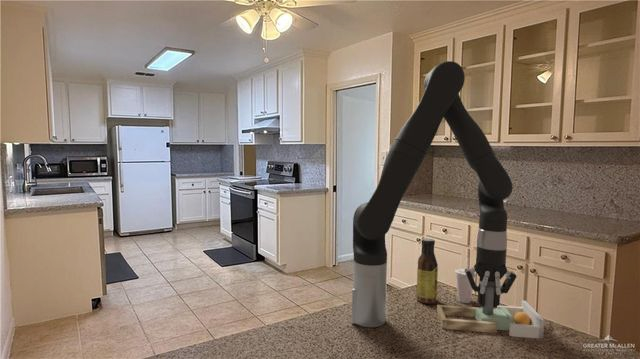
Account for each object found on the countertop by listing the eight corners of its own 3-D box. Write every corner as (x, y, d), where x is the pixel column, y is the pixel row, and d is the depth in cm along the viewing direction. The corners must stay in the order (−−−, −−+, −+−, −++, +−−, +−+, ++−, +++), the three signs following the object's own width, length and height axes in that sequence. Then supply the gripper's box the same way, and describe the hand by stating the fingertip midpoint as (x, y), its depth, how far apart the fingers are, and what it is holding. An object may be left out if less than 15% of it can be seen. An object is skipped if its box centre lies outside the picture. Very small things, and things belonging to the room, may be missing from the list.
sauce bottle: (439, 304, 123) (441, 242, 121) (419, 304, 123) (421, 242, 121) (433, 296, 129) (435, 237, 127) (414, 296, 129) (416, 237, 127)
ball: (530, 314, 106) (533, 328, 106) (525, 308, 110) (528, 322, 110) (515, 316, 107) (518, 330, 107) (510, 310, 111) (513, 324, 111)
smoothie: (476, 305, 122) (478, 261, 121) (454, 303, 124) (456, 260, 122) (472, 298, 129) (474, 256, 127) (452, 296, 130) (454, 254, 129)
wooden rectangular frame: (442, 328, 107) (442, 319, 106) (436, 312, 117) (437, 304, 117) (496, 332, 105) (497, 324, 104) (486, 316, 115) (486, 308, 115)
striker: (481, 328, 107) (483, 283, 106) (474, 317, 114) (477, 275, 112) (512, 330, 106) (515, 285, 105) (504, 319, 112) (507, 276, 111)
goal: (510, 336, 103) (511, 317, 102) (495, 315, 116) (496, 298, 115) (542, 338, 102) (544, 320, 101) (524, 317, 115) (525, 300, 114)
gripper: (468, 247, 105) (465, 309, 107) (523, 250, 103) (519, 313, 105) (462, 240, 113) (459, 299, 114) (513, 243, 111) (510, 302, 112)
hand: (488, 305), depth 109 cm, fingers closed on striker, 3 cm apart
